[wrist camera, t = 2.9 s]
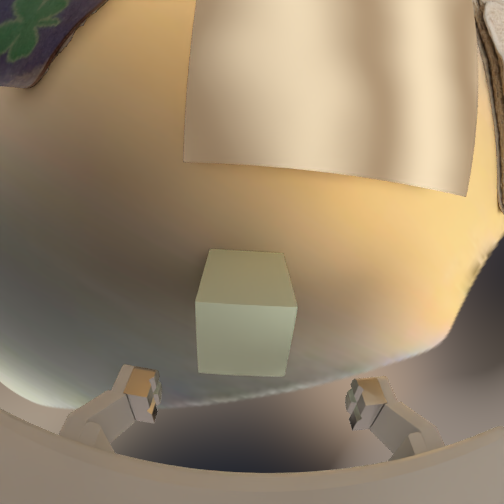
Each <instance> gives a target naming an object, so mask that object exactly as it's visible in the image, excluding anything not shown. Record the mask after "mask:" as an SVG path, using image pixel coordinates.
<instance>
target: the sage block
mask: <svg viewBox="0 0 504 504" xmlns="http://www.w3.org/2000/svg"><path fill="white" fill-rule="evenodd" d="M297 309H298V306H297V302H296V298H295V294H294V291H293V287H292V283H291V279H290V276H289V272H288V268H287V265H286V261H285V257H284V254H283V253H276V252H259V251H242V250H224V249H210V250H209V254H208V257H207V261H206V264H205V268H204V271H203V275H202V278H201V282H200V285H199V289H198V293H197V296H196V300H195V314H196V338H197V358H198V373H208V374H222V375H240V376H272V377H284V376H285V371H286V366H287V361H288V356H289V351H290V346H291V341H292V336H293V331H294V325H295V320H296V315H297Z"/></svg>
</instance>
